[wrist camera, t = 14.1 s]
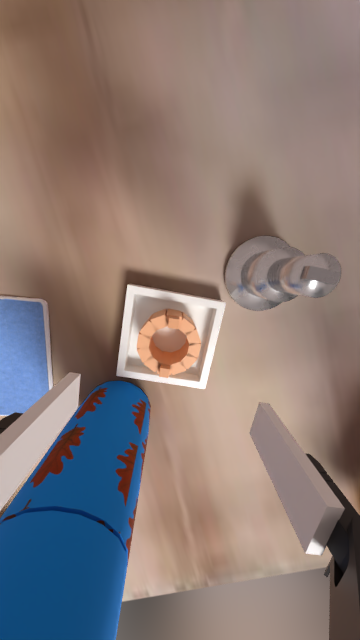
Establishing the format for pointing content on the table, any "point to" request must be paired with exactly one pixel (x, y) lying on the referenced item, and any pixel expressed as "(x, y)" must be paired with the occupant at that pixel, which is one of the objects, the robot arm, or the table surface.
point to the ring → (168, 360)
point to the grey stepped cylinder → (277, 273)
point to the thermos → (76, 523)
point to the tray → (168, 333)
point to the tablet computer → (24, 353)
